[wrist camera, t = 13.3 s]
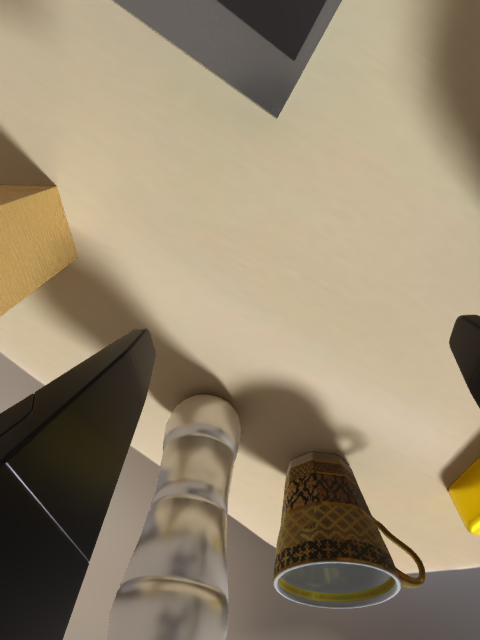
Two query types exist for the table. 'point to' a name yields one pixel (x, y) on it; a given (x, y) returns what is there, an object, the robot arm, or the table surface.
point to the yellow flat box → (468, 497)
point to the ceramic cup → (333, 540)
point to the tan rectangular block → (31, 240)
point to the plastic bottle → (184, 533)
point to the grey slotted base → (243, 39)
